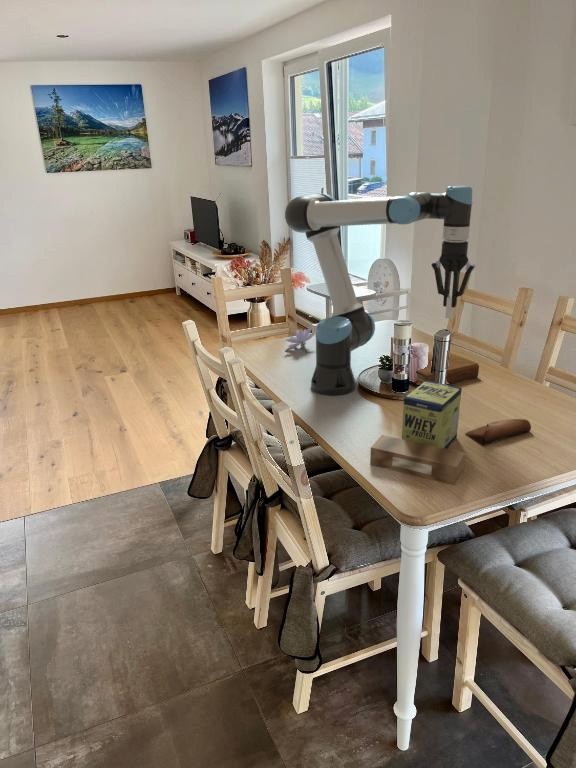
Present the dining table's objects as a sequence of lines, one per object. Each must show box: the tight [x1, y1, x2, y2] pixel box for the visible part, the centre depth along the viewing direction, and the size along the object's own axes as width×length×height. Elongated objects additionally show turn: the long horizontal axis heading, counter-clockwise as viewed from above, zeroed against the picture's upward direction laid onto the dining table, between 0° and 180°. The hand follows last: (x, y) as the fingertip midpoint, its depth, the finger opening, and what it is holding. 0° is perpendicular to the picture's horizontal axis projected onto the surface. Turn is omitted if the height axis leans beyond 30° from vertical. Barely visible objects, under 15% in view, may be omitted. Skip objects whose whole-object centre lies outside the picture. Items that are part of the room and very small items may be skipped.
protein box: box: [401, 380, 462, 449], centre depth 160 cm, size 10×16×16 cm
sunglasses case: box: [464, 418, 532, 447], centre depth 167 cm, size 18×7×7 cm
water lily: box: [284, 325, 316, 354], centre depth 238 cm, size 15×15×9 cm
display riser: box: [369, 434, 466, 486], centre depth 150 cm, size 22×8×5 cm, turn 61°
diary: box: [416, 351, 480, 385], centre depth 210 cm, size 23×19×6 cm
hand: (448, 316), depth 185 cm, fingers closed
